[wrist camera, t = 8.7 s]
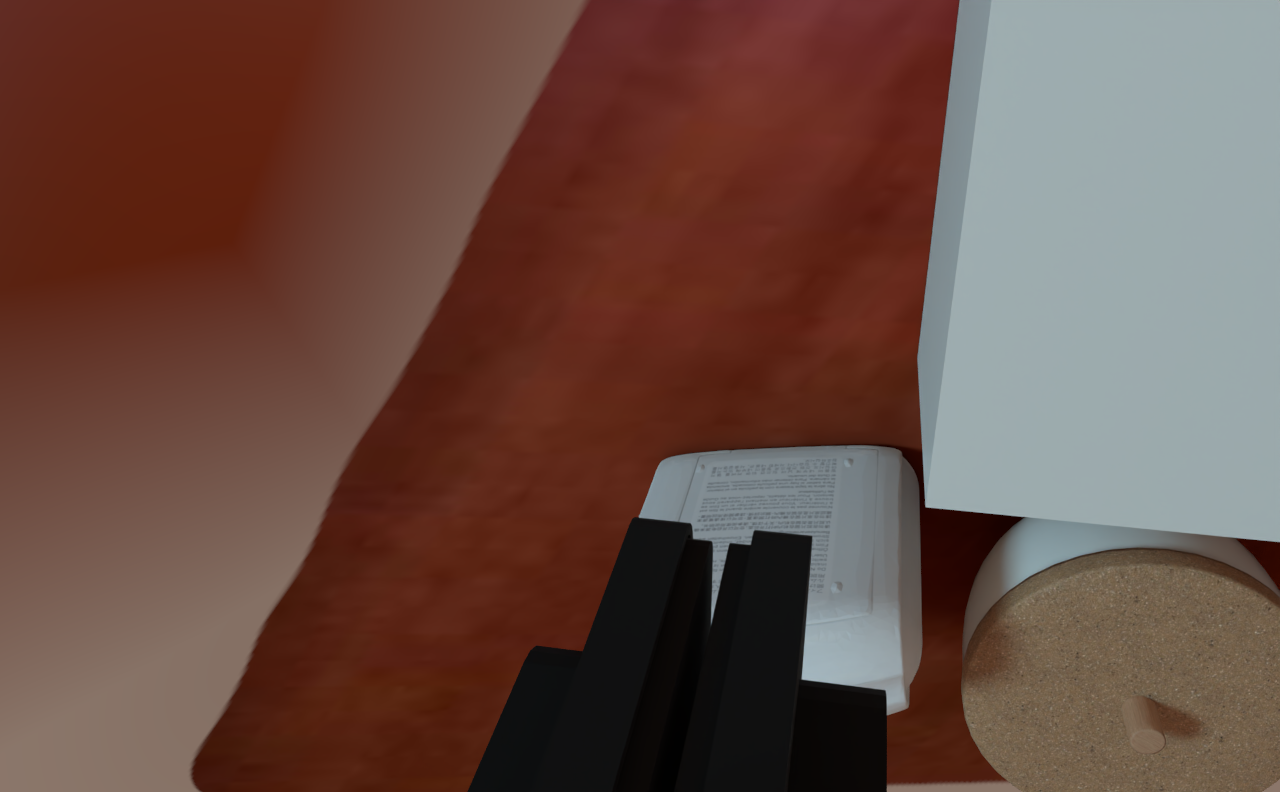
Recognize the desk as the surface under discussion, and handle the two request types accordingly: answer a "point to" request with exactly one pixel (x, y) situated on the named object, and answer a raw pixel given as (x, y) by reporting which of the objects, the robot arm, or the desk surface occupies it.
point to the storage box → (1108, 267)
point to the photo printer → (820, 546)
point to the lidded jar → (1123, 661)
